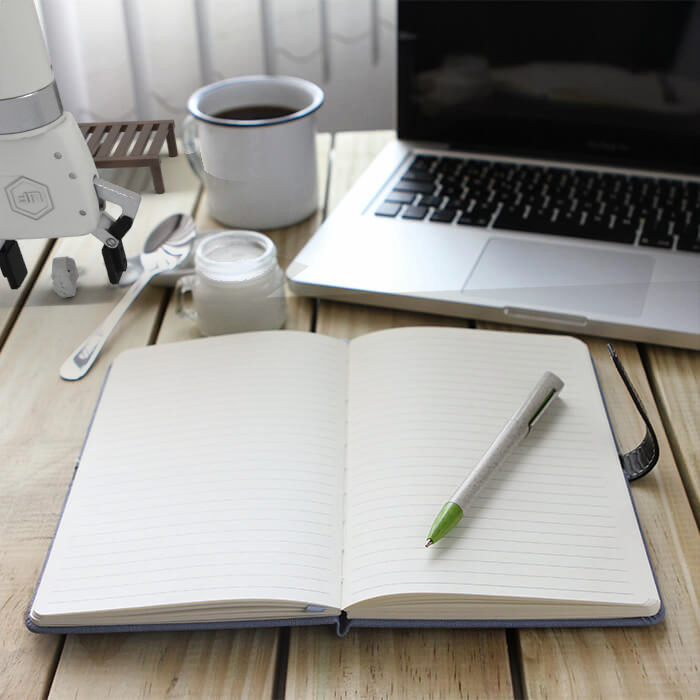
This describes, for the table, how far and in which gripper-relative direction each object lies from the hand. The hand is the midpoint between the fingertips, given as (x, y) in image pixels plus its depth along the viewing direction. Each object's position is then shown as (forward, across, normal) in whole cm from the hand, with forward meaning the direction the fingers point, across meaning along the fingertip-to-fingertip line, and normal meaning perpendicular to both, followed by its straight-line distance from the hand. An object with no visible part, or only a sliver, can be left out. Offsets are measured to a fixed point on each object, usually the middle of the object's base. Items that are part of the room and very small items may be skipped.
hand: (68, 279), depth 76 cm
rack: (+2, -1, +27) cm, 27 cm away
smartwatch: (+2, 0, 0) cm, 2 cm away
